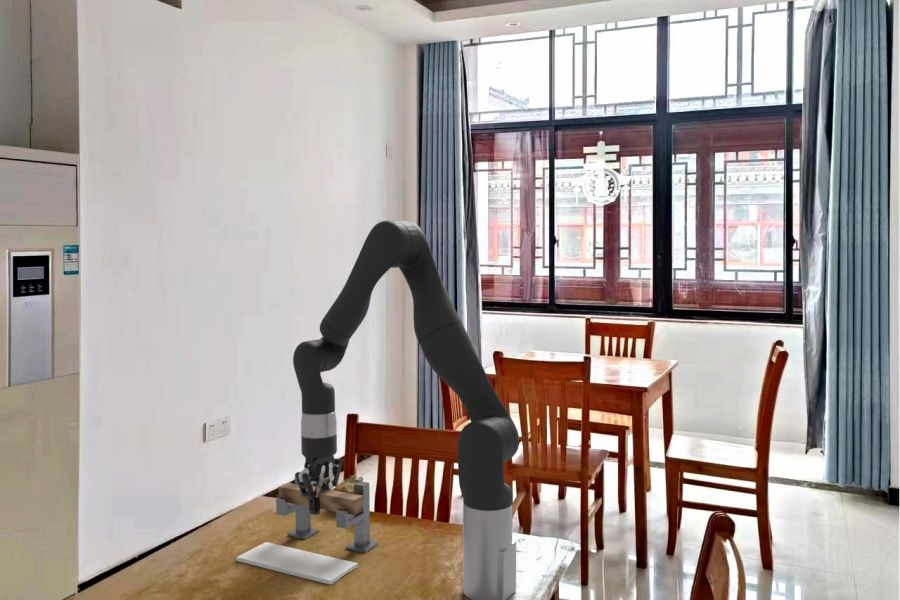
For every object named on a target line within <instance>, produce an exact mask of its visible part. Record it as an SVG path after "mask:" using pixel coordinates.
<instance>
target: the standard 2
mask: <svg viewBox="0 0 900 600" xmlns="http://www.w3.org/2000/svg"><path fill="white" fill-rule="evenodd" d="M370 493H371V492H370V482H368V481H367V482H366V481H359V482H357V483H355V484H354V494H357V495H363V511H361V512H359V513H358V514H356V515H351V514H349V510H345V509H340V508H339V509H337V510H336V512H335V513H336V514H335V515H336V518H335V520H336V522H335V523H336V528H340V529H345V530H346V529H349V528H350V527H352V526H353V531H354V532H353V534H354V535H353V536H354V539H353V540H354V541H352V542H350V543H349V544H347V545H345V549H346V550H350V551H354V552H359V553H364V554H366V553H368V552H369V551H371V550H372V549H374V548H376V547H377V546H378V545H379V541H375V540H371V532H370V531H371V523H370V521H371V519H370V517H371V515H370V514H371V512H370V509H371V508H370V506H371V505H370V503H371V502H370V498H371V497H370Z"/></svg>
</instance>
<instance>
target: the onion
mask: <svg viewBox="0 0 900 600" xmlns="http://www.w3.org/2000/svg"><path fill="white" fill-rule="evenodd" d="M359 481H362V482H364V478H363V476H362V475H361V476H359V477H358V476H357V475H355V474H354V475H350V476H349V477H346V478H345V479H344V480H343V481H341V482H340V483H338V484H337V486H334V487H333V491H339V492H345V493H351V494H354V484H355V483H357V482H359Z"/></svg>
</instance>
